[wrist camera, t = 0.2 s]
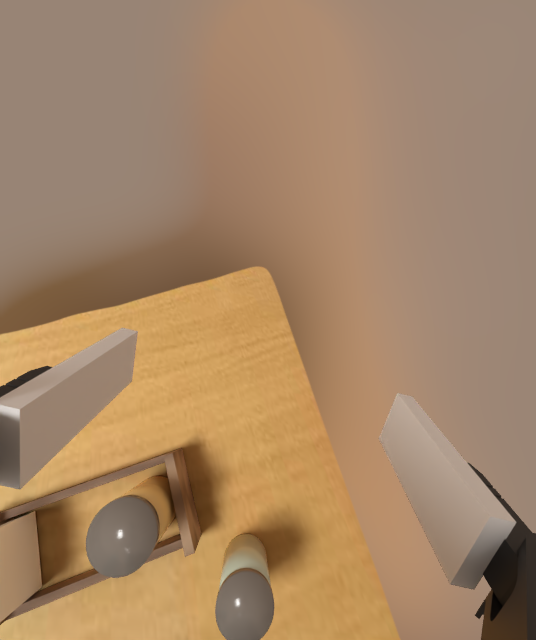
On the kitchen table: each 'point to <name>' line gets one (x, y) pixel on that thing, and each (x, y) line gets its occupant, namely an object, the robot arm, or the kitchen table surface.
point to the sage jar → (244, 591)
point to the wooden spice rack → (184, 540)
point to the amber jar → (130, 528)
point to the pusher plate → (18, 563)
